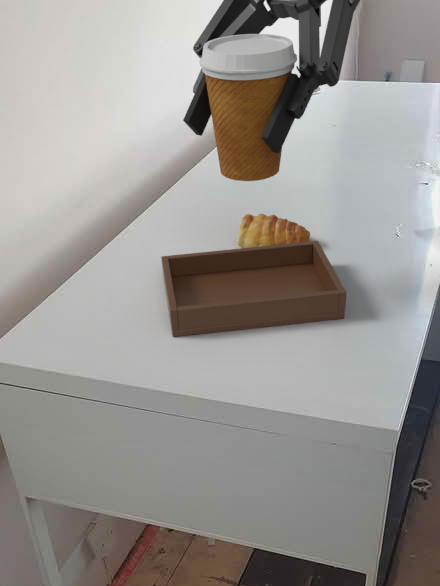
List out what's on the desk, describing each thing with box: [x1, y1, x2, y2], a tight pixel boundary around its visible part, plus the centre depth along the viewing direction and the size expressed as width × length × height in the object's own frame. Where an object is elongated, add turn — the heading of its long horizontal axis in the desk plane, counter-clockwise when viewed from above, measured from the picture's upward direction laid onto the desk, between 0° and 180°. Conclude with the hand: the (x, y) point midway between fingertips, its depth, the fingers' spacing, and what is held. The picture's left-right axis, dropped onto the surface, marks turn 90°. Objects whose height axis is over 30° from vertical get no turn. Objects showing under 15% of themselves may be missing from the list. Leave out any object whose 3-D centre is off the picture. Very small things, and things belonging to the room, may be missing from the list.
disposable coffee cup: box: [198, 33, 298, 182], centre depth 73 cm, size 10×10×12 cm
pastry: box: [236, 213, 311, 249], centre depth 95 cm, size 9×7×4 cm
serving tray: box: [160, 240, 347, 338], centre depth 85 cm, size 20×14×3 cm
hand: (230, 136), depth 72 cm, fingers closed on disposable coffee cup, 9 cm apart
